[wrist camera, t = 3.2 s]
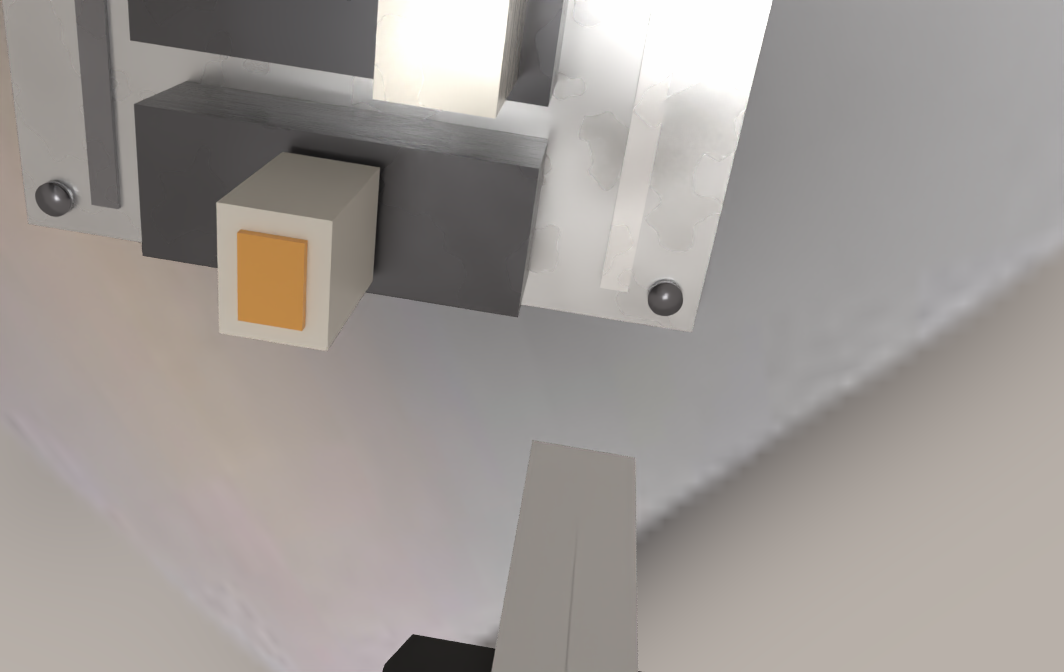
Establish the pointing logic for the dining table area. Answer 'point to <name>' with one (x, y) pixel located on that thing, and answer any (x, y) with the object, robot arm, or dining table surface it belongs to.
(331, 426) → the dining table surface
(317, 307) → the block with orange pad
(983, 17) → the dining table surface
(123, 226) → the panel
